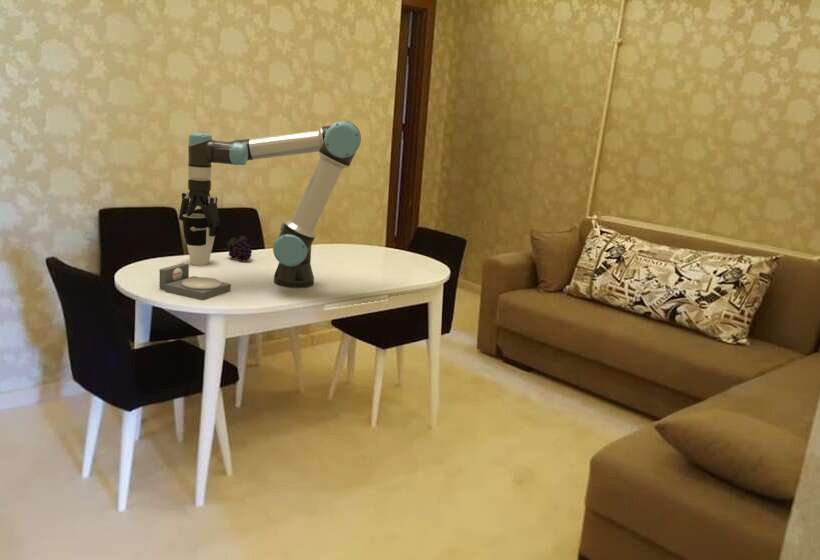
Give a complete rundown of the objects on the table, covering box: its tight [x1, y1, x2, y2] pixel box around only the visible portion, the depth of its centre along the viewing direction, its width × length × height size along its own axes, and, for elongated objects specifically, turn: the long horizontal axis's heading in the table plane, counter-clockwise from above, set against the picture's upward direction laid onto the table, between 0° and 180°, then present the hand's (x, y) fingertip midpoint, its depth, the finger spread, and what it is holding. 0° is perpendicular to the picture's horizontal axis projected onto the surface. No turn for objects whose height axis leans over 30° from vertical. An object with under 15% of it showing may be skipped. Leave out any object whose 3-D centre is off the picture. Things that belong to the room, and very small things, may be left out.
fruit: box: [226, 235, 253, 262], centre depth 278 cm, size 10×11×15 cm
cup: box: [186, 235, 216, 267], centre depth 264 cm, size 12×12×12 cm
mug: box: [182, 213, 219, 246], centre depth 230 cm, size 12×9×10 cm
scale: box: [159, 263, 231, 301], centre depth 227 cm, size 19×15×7 cm
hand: (198, 242), depth 231 cm, fingers closed on mug, 9 cm apart
